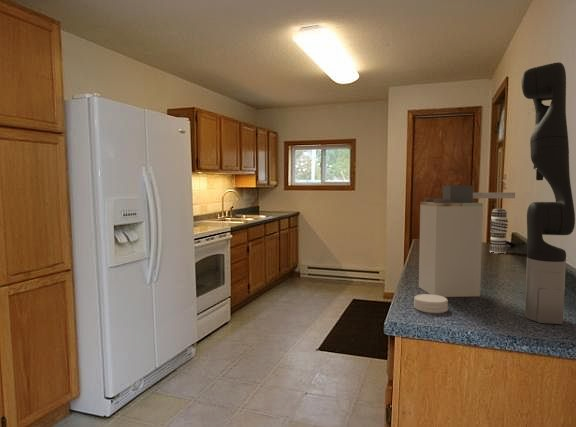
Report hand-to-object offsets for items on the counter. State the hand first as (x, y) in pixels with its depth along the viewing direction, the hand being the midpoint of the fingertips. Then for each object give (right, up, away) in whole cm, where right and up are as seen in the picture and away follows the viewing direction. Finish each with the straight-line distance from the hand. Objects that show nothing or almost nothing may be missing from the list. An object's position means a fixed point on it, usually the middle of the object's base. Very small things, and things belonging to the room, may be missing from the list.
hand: (544, 180), depth 146 cm
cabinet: (-37, -40, -4) cm, 55 cm away
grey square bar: (-26, -8, -5) cm, 28 cm away
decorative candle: (+25, -35, +80) cm, 91 cm away
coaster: (-51, -42, -23) cm, 70 cm away
